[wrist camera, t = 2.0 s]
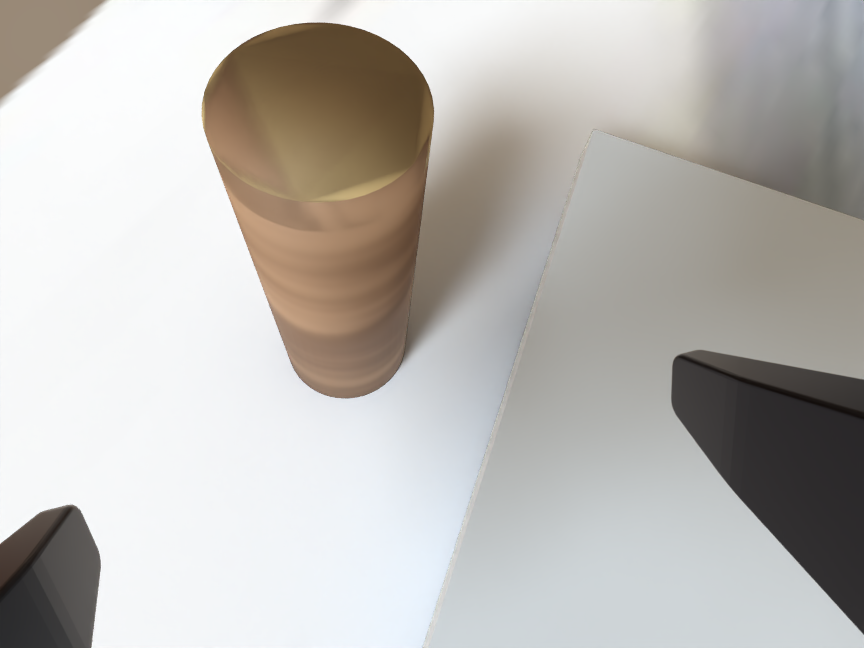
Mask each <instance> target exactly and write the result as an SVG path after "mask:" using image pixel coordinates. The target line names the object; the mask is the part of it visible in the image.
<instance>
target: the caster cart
mask: <svg viewBox="0 0 864 648" xmlns="http://www.w3.org/2000/svg"><path fill="white" fill-rule="evenodd" d="M694 350H706V351H712V352H717V353H723V354H728V355H733V356H739V357H744V358H750V359H755V360H761V361H766V362H772V363H777V364H782V365H788V366H793V367H799V368H804V369H810V370H815V371H821V372H826V373H831V374H837V375H842V376H848V377H853V378H859V379H864V220H862V219H859V218H856V217H853V216H850V215H847V214H844V213H841V212H838V211H835V210H832V209H829V208H826V207H823V206H820V205H817V204H814V203H811V202H808V201H805V200H803V199H800V198H797V197H794V196H791V195H788V194H785V193H782V192H779V191H776V190H773V189H770V188H767V187H764V186H761V185H758V184H755V183H752V182H749V181H746V180H743V179H741V178H738V177H735V176H732V175H729V174H726V173H723V172H720V171H717V170H714V169H711V168H708V167H705V166H702V165H699V164H696V163H693V162H690V161H687V160H684V159H681V158H678V157H676V156H673V155H670V154H667V153H664V152H661V151H658V150H655V149H652V148H649V147H646V146H643V145H640V144H637V143H634V142H631V141H628V140H625V139H622V138H619V137H616V136H614V135H611V134H608V133H605V132H602V131H599V130H596V129H593V131H592V133H591V135H590V137H589V140H588V142H587V144H586V146H585V148H584V150H583V152H582V154H581V157H580V160H579V163H578V167H577V170H576V173H575V176H574V179H573V182H572V185H571V188H570V191H569V195H568V198H567V201H566V204H565V207H564V210H563V213H562V216H561V219H560V222H559V226H558V229H557V232H556V235H555V238H554V241H553V244H552V247H551V250H550V254H549V257H548V260H547V263H546V266H545V269H544V272H543V275H542V278H541V282H540V285H539V288H538V291H537V294H536V297H535V300H534V303H533V306H532V309H531V313H530V316H529V319H528V322H527V325H526V328H525V331H524V334H523V337H522V341H521V344H520V347H519V350H518V353H517V356H516V359H515V362H514V365H513V369H512V372H511V375H510V378H509V381H508V384H507V387H506V390H505V393H504V396H503V400H502V403H501V406H500V409H499V412H498V415H497V418H496V421H495V424H494V428H493V431H492V434H491V437H490V440H489V443H488V446H487V449H486V452H485V455H484V459H483V462H482V465H481V468H480V471H479V474H478V477H477V480H476V483H475V487H474V490H473V493H472V496H471V499H470V502H469V505H468V508H467V511H466V515H465V518H464V521H463V524H462V527H461V530H460V533H459V536H458V539H457V542H456V546H455V549H454V552H453V555H452V558H451V561H450V564H449V567H448V570H447V574H446V577H445V580H444V583H443V586H442V589H441V592H440V595H439V598H438V602H437V605H436V608H435V611H434V614H433V617H432V620H431V623H430V626H429V629H428V633H427V636H426V639H425V642H424V645H423V648H864V635H863V634H862V633H861V631H860V630H859V629H858V628H857V627H856V626H855V625H854V624H853V623H852V622H851V620H850V619H849V618H848V617H847V616H846V615H845V614H844V613H843V612H842V611H841V609H840V608H839V607H838V606H837V605H836V604H835V603H834V602H833V601H832V600H831V598H830V597H829V596H828V595H827V594H826V593H825V592H824V591H823V590H822V589H821V587H820V586H819V585H818V584H817V583H816V582H815V581H814V580H813V579H812V578H811V576H810V575H809V574H808V573H807V572H806V571H805V570H804V569H803V568H802V567H801V565H800V564H799V563H798V562H797V561H796V560H795V559H794V558H793V557H792V556H791V554H790V553H789V552H788V551H787V550H786V549H785V548H784V547H783V546H782V545H781V543H780V542H779V541H778V540H777V539H776V538H775V537H774V536H773V535H772V534H771V532H770V531H769V530H768V529H767V528H766V527H765V526H764V525H763V524H762V523H761V521H760V520H759V519H758V518H757V517H756V516H755V515H754V514H753V513H752V512H751V510H750V509H749V508H748V507H747V506H746V505H745V504H744V503H743V502H742V501H741V499H740V498H739V497H738V496H737V495H736V494H735V493H734V491H733V490H732V489H731V488H730V487H729V485H728V484H727V483H726V482H725V480H724V479H723V478H722V477H721V475H720V474H719V473H718V471H717V470H716V469H715V467H714V466H713V465H712V463H711V462H710V461H709V459H708V458H707V456H706V455H705V454H704V452H703V451H702V450H701V448H700V447H699V446H698V444H697V443H696V442H695V440H694V439H693V437H692V436H691V435H690V433H689V432H688V431H687V429H686V428H685V427H684V425H683V424H682V423H681V421H680V420H679V419H678V417H677V416H676V414H675V412H674V410H673V407H672V403H671V385H672V364H673V360H674V358H675V357H676V356H677V355H679V354H682V353H686V352H690V351H694Z"/></svg>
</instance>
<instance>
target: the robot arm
mask: <svg viewBox="0 0 864 648" xmlns="http://www.w3.org/2000/svg"><path fill="white" fill-rule="evenodd" d="M671 403H672V407H673V410H674V412H675V414H676V416H677V417H678V419H679V420H680V421H681V423H682V424H683V425H684V427H685V428H686V429H687V431H688V432H689V433H690V435H691V436H692V437H693V439H694V440H695V442H696V443H697V444H698V446H699V447H700V448H701V450H702V451H703V452H704V454H705V455H706V456H707V458H708V459H709V461H710V462H711V463H712V465H713V466H714V467H715V469H716V470H717V471H718V473H719V474H720V475H721V477H722V478H723V479H724V480H725V482H726V483H727V484H728V485H729V487H730V488H731V489H732V490H733V491H734V493H735V494H736V495H737V496H738V497H739V498H740V499H741V501H742V502H743V503H744V504H745V505H746V506H747V507H748V508H749V509H750V510H751V512H752V513H753V514H754V515H755V516H756V517H757V518H758V519H759V520H760V521H761V523H762V524H763V525H764V526H765V527H766V528H767V529H768V530H769V531H770V532H771V534H772V535H773V536H774V537H775V538H776V539H777V540H778V541H779V542H780V543H781V545H782V546H783V547H784V548H785V549H786V550H787V551H788V552H789V553H790V554H791V556H792V557H793V558H794V559H795V560H796V561H797V562H798V563H799V564H800V565H801V567H802V568H803V569H804V570H805V571H806V572H807V573H808V574H809V575H810V576H811V578H812V579H813V580H814V581H815V582H816V583H817V584H818V585H819V586H820V587H821V589H822V590H823V591H824V592H825V593H826V594H827V595H828V596H829V597H830V598H831V600H832V601H833V602H834V603H835V604H836V605H837V606H838V607H839V608H840V609H841V611H842V612H843V613H844V614H845V615H846V616H847V617H848V618H849V619H850V620H851V622H852V623H853V624H854V625H855V626H856V627H857V628H858V629H859V630H860V631H861V633H862V634H863V635H864V379H859V378H853V377H848V376H842V375H837V374H831V373H826V372H821V371H815V370H810V369H804V368H799V367H793V366H788V365H782V364H777V363H772V362H766V361H761V360H755V359H750V358H744V357H739V356H733V355H728V354H723V353H717V352H712V351H706V350H694V351H690V352H686V353H682V354H679V355H677V356H676V357H675V358H674V360H673V364H672V385H671ZM100 570H101V560H100V554H99V551H98V548H97V546H96V544H95V541H94V539H93V537H92V535H91V533H90V530H89V528H88V526H87V524H86V521H85V519H84V517H83V515H82V513H81V511H80V510H79V509H78V508H77V507H76V506H74V505H66V506H62V507H58V508H54V509H50V510H46V511H43V512H40V513H39V514H37V515H36V516H35V517H34V518H32V519H31V520H30V521H28V522H27V523H26V524H25V525H23V526H22V527H21V528H20V529H18V530H17V531H16V532H15V533H13V534H12V535H11V536H10V537H8V538H7V539H6V540H5V541H3V542H2V543H1V544H0V648H91V646H92V638H93V629H94V621H95V612H96V604H97V595H98V587H99V578H100Z"/></svg>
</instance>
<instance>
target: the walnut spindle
mask: <svg viewBox="0 0 864 648" xmlns="http://www.w3.org/2000/svg"><path fill="white" fill-rule="evenodd" d="M202 121H203V128H204V131H205V134H206V137H207V140H208V143H209V146H210V148H211V151H212V154H213V156H214V159H215V162H216V164H217V167H218V170H219V172H220V175H221V178H222V180H223V183H224V186H225V188H226V191H227V194H228V196H229V199H230V202H231V204H232V207H233V210H234V212H235V215H236V218H237V220H238V223H239V226H240V228H241V231H242V234H243V236H244V239H245V242H246V244H247V247H248V250H249V252H250V255H251V258H252V260H253V263H254V266H255V268H256V271H257V274H258V276H259V279H260V282H261V284H262V287H263V290H264V292H265V295H266V298H267V300H268V303H269V306H270V308H271V311H272V314H273V316H274V319H275V322H276V324H277V327H278V329H279V332H280V335H281V337H282V340H283V343H284V345H285V348H286V351H287V353H288V356H289V359H290V361H291V364H292V366H293V368H294V370H295V372H296V373H297V375H298V376H299V377H300V379H301V380H302V381H303V382H304V383H305V384H307V385H308V386H309V387H310V388H312V389H314V390H315V391H317V392H319V393H321V394H324V395H327V396H330V397H335V398H355V397H360V396H364V395H367V394H370V393H372V392H374V391H376V390H377V389H379V388H380V387H382V386H383V385H385V384H386V383H387V382H388V381H389V380H390V379H391V378H392V377H393V375H394V374H395V373H396V371H397V370H398V368H399V366H400V364H401V361H402V358H403V355H404V350H405V342H406V334H407V327H408V319H409V311H410V303H411V295H412V287H413V279H414V271H415V264H416V256H417V248H418V240H419V232H420V224H421V216H422V208H423V200H424V193H425V185H426V177H427V169H428V161H429V153H430V145H431V137H432V130H433V122H434V106H433V99H432V95H431V92H430V89H429V86H428V84H427V82H426V80H425V78H424V76H423V74H422V73H421V71H420V70H419V68H418V67H417V66H416V64H415V63H414V62H413V61H412V60H411V59H410V58H409V57H408V56H407V55H406V54H405V53H404V52H402V51H401V50H400V49H399V48H397V47H396V46H395V45H393V44H392V43H390V42H389V41H387V40H385V39H383V38H381V37H379V36H377V35H375V34H372V33H370V32H367V31H365V30H362V29H358V28H355V27H351V26H346V25H341V24H333V23H301V24H293V25H288V26H283V27H279V28H276V29H273V30H270V31H267V32H264V33H262V34H260V35H257V36H255V37H253V38H251V39H250V40H248V41H246V42H244V43H243V44H241V45H240V46H239V47H237V48H236V49H235V50H233V51H232V52H231V53H230V54H229V55H228V56H227V57H226V58H225V59H223V61H222V62H221V63H220V64H219V66H218V67H217V68H216V69H215V71H214V73H213V74H212V76H211V78H210V79H209V82H208V84H207V87H206V89H205V92H204V97H203V102H202Z"/></svg>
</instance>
